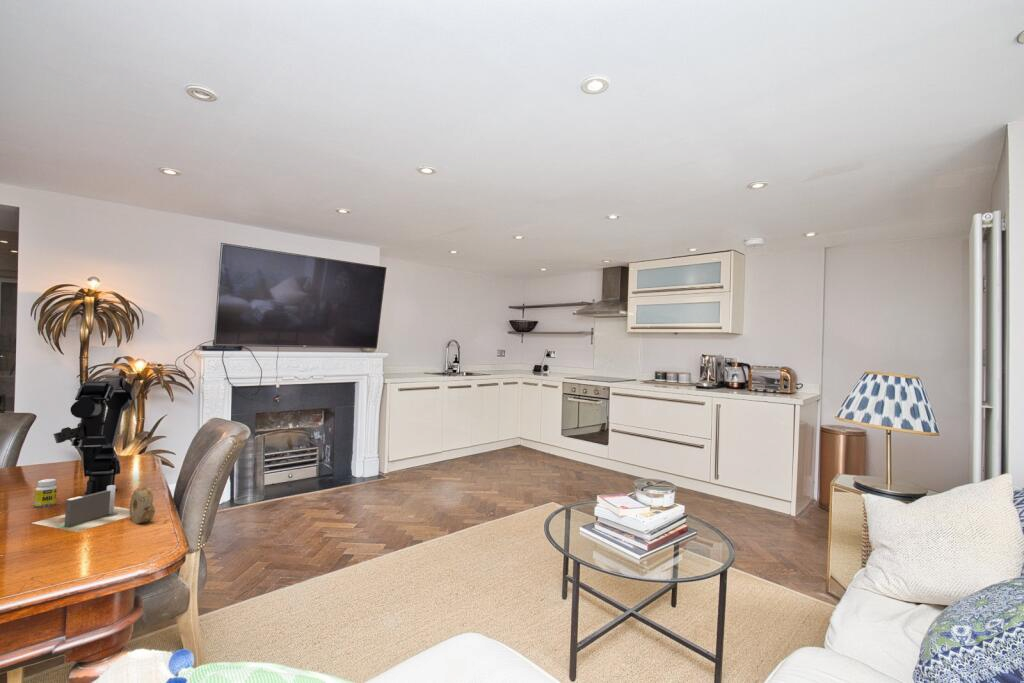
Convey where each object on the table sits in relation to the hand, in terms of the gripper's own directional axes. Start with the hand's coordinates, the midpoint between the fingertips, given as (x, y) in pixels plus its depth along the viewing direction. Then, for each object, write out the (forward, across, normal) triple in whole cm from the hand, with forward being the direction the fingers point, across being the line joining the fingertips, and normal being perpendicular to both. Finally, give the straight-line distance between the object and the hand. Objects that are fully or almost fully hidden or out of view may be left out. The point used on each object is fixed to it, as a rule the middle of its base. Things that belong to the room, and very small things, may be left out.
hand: (85, 468), depth 145 cm
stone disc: (+16, +25, +10) cm, 31 cm away
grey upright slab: (+14, +16, 0) cm, 21 cm away
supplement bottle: (+12, -8, -7) cm, 16 cm away
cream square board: (+14, +13, +1) cm, 19 cm away
